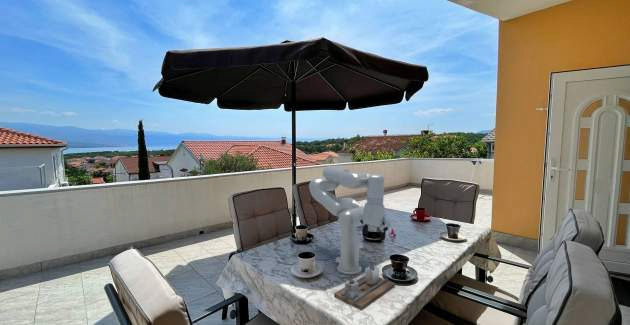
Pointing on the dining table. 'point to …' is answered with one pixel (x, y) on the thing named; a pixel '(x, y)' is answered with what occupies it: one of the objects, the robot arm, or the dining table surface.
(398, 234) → the dining table surface
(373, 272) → the grey sliding block
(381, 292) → the bolt plate
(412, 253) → the dining table surface
